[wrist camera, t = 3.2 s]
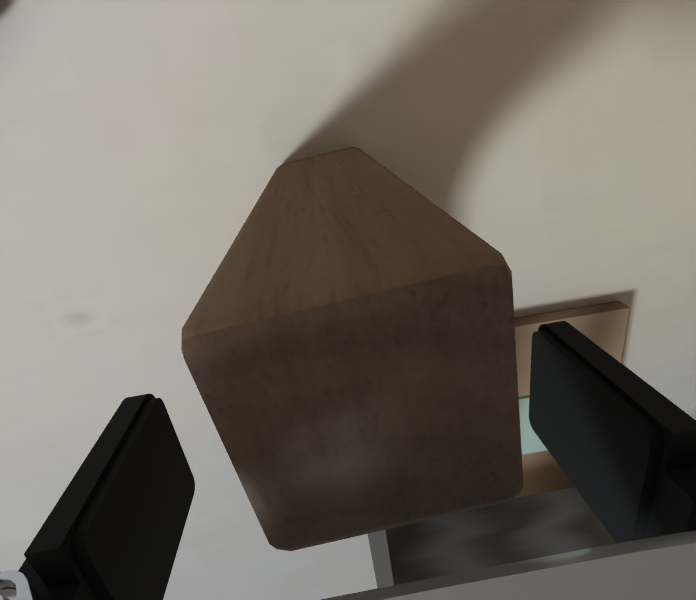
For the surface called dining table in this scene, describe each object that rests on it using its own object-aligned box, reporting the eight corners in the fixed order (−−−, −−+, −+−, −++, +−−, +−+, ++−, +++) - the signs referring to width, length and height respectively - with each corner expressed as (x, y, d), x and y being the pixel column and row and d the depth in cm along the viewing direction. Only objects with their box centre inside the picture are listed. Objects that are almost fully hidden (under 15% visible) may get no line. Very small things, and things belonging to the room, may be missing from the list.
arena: (618, 301, 26) (716, 361, 20) (592, 481, 33) (659, 569, 27) (338, 347, 26) (347, 423, 20) (369, 520, 33) (383, 618, 26)
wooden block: (390, 300, 25) (540, 652, 9) (317, 317, 25) (331, 698, 9) (360, 144, 21) (524, 252, 5) (274, 165, 21) (158, 338, 5)
